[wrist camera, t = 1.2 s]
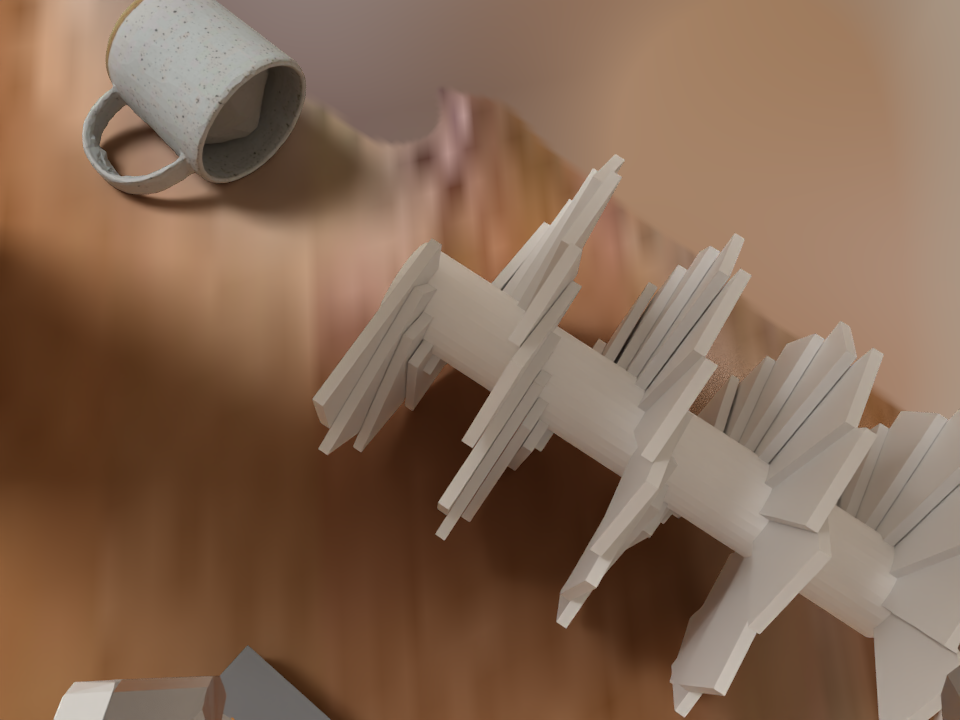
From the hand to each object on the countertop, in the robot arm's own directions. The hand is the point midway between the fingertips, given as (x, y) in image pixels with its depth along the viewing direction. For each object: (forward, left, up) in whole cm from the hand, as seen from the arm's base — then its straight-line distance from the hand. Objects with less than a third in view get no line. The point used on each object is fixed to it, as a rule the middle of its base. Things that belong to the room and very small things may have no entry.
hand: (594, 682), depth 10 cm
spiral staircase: (+10, +17, -31) cm, 37 cm away
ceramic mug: (-16, +31, -31) cm, 47 cm away
